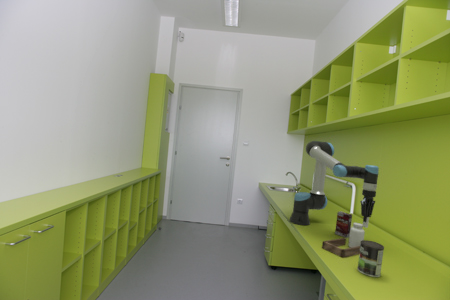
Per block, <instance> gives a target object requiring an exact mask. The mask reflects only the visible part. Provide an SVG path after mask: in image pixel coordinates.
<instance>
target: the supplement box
mask: <svg viewBox="0 0 450 300" xmlns="http://www.w3.org/2000/svg"><path fill="white" fill-rule="evenodd" d="M336 214H337V215H336V222H335V223H336V224H335V230H334V234H335V235H337V236H340V237H342V238H346V239H349V236H350V229H351V227H352V219H353V214H352V213H347V212H345V211H337V212H336Z"/></svg>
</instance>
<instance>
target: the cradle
mask: <svg viewBox="0 0 450 300" xmlns="http://www.w3.org/2000/svg"><path fill="white" fill-rule="evenodd" d="M346 242H347V238H345V237H340V238H335V239H328V240H323V241H322V244H321V248H322V249H323V250H326V251H327V252H329V253H332V254H334V255H335V256H338V257H341V258H343V259H344V258H349V257H353V256H357V255H359V253H360V246H356V247H352V248H350V247H347V248H341V246H345V245H346Z"/></svg>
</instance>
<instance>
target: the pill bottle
mask: <svg viewBox="0 0 450 300" xmlns="http://www.w3.org/2000/svg"><path fill="white" fill-rule="evenodd" d="M365 233H366V232H365V230H364V227H363V223H359V222H353V224H352V226H351V229H350V236H349V237H348V244H347V245H348V248H352V247H356V246H360V244H361V243H360V242H361V241H362V240H365Z"/></svg>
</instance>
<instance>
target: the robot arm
mask: <svg viewBox="0 0 450 300" xmlns="http://www.w3.org/2000/svg"><path fill="white" fill-rule="evenodd" d="M305 153H306V154H307V155H308V156H309V157H311V158H312V159H314V160H315V165H314V174H313V181H312V188H311V190H309V192H307V191H300V192H296V193H295V194H294V197H293V207H292V209H293V210H292V213H291V214H290V218H289V222H290V223H292V224H295V225H300V226H310V224H311V223H310V222H311V221H310V216H309V211H310V210H323V209H325V208H326V206H327V205H328V198H327V196H326V193H325V191H324V189H325V183H326V182H325V181H326V174H327V168H328V169H330V170H331V171H332V173H333V175H334V177H338V178H352V179H361V180H363V183H362V193H361V195H362V196H363V198H362V200H360V210H361V211H360V212H361V213H360V215H361V216H362V217H363V218H362V219H363V220H362V225H363V228H366V229H367V228H368V227H369V221H370V218H372V215H373V210H374V208H375V207H374V206H375V203H376V200H374V198H376V196H377V188H378V180H379V179H378V178H379V175H380V174H379V169H380V168H379V166H377V165H372V164H371V165H369V164H366V165H365V167H362V166H357V165H345V164H344V163H342V162H341V161H339V160H338V159H336V158H335V157H333V156H334V154H335V147H334V146H333V144H332V143H331V142H327V141H320V140H319V141H318V140H311V141H309V142H308V143H307V144H306V145H305Z"/></svg>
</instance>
